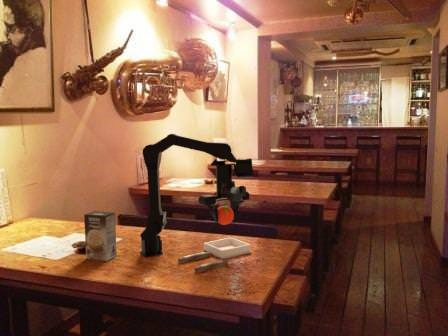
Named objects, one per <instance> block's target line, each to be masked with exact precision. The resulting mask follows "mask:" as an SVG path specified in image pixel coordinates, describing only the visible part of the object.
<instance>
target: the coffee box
mask: <svg viewBox="0 0 448 336" xmlns="http://www.w3.org/2000/svg"><path fill="white" fill-rule="evenodd" d="M83 219H84V241H85V259H86V260H94V261H103V262H104V261H105V262H108V261H110V260H111V259H114V258H116V257H117V256H118V255H117V253H118V252H117V227H116V226H117V225H116V212H113V211H101V210H93V211H90V212H88V213H85V214H83Z"/></svg>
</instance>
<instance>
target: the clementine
mask: <svg viewBox="0 0 448 336" xmlns="http://www.w3.org/2000/svg"><path fill="white" fill-rule="evenodd" d="M233 218H234V212H233V210H232V209H231V207H230V206H229V205H219V207H218V223H217V224H219V225H223V226H226V225H229V224H231V223H232V222H233V221H234V220H233Z"/></svg>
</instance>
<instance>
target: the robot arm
mask: <svg viewBox="0 0 448 336" xmlns="http://www.w3.org/2000/svg"><path fill="white" fill-rule="evenodd" d="M172 146H176V147H181V148H184V149H188V150H193V151H198V152H202V153H206V154H207V155H210V156H212V157H214V159H213V161H212V162H211V163H210V166H211V167H215V176H216V177H215V180H214V184H215V185H216V186H215V187H216V191H215V192H214V195H213V194H202V195H199V196H198V204H201V205H203V206H207V208H208V210H209V212H210V214H211V215H212V218H213V220H214V222H215V223H217V224H219V223H218V208H219V207H220V204H218V202H219V201H221V202H222V201H227V200H228V201H229V205H230V206H229V207H230V208H231V209H232V210H233V212H234V218H233V220H232V221H235V220H236V217H237V214H238V211H239V208H240V206H242V204H243V203H245V202H246V200H248V201H249V200H250V199H251V195H250V192H249V191H247V186H245V185H240V186H236V182H235V180H233V175H234V176H236V177H237V179H239V178H240V179H241V178H242V179H244V178H248V179H249V178H250V179H251V178H253V177H254V168H253V159H252V158H239V159H238V158H237V157H236V156H235V155H234V154H233V153H232V151H233V150H232V147H231V145H230V144H229V143H227V142H219V141H218V142H216V141H215V142H213V141H205V140H200V139H195V138H191V137H187V136H183V135H178V134H176V133H170V134H168V135H167V136H165V137H164V138H162V139H160V140H159V141H157V142H155V143H151V144H150V143H149V144H148V145H145V146H144V147H143V149H142V157H143V161H144V165H145V168H146V170H147V188H148V190H147V191H148V213H147V218H146V227H145V228H144V230H143V231H142V232H141V233H140V235H139V236H140V242H141V245H140V246H141V251H140V252H139V254H141V255H143V256H144V257H146V258H150V257H153V256H159V255H163V254H164V251H163V240H162V238H161V235H159V234H160V233H161V232H162V231H163V229H164V228H165V226H166V224H167V223H168V221H167V211H163V209H162V205H161V203H162V202H161V186H160V185H161V183H160V181H161V180H160V179H161V178H160V167H161V162H162V156H163V155H162V153H163V152H165V151H167V150H168V149H169V148H171V147H172ZM217 159H219V160H217ZM226 161H227V163H226ZM229 162H230V163H229Z"/></svg>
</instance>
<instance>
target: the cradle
mask: <svg viewBox="0 0 448 336" xmlns="http://www.w3.org/2000/svg"><path fill="white" fill-rule="evenodd" d="M210 257H211V254H210V252H205V251H201V252H197V253H192V254H189V255H183V256H182V257H178V258H177V261H178V262H177V263H178V264H185V263H189V262H194V261H197V260H202V259H206V258H210ZM225 266H226V267H227V266H228V260H227V259H221V260H217V261H212V262H208V263H203V264H200V265H199V266H195V267H194V273H195V274H198V273H202V272H205V271H209V270H214V269H217V268H222V267H225Z"/></svg>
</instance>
